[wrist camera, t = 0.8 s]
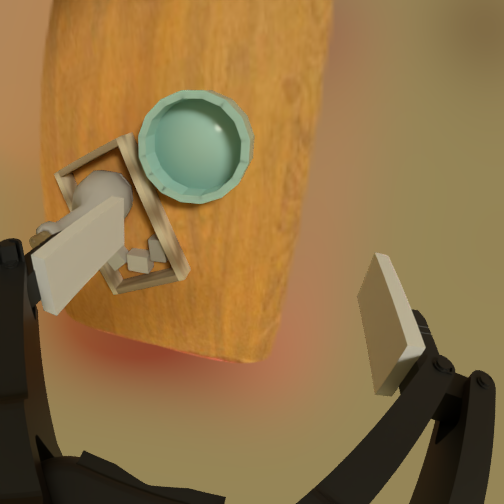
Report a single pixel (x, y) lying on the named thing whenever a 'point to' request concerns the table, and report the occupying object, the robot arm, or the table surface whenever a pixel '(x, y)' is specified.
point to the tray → (153, 211)
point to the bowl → (195, 145)
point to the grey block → (118, 258)
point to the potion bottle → (88, 201)
